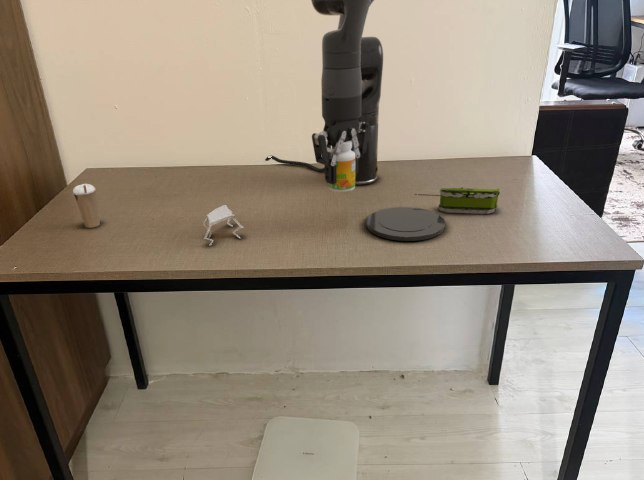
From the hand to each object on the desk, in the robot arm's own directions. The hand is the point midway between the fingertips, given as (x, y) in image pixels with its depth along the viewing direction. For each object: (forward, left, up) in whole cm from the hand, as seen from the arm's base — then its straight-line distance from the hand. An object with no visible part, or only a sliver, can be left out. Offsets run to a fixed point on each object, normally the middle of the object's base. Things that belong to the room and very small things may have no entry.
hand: (341, 179), depth 115 cm
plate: (+10, +9, -10) cm, 17 cm away
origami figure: (-14, -20, -10) cm, 27 cm away
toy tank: (+11, +24, -10) cm, 28 cm away
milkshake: (-39, -38, -10) cm, 56 cm away
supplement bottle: (0, 0, -2) cm, 2 cm away
